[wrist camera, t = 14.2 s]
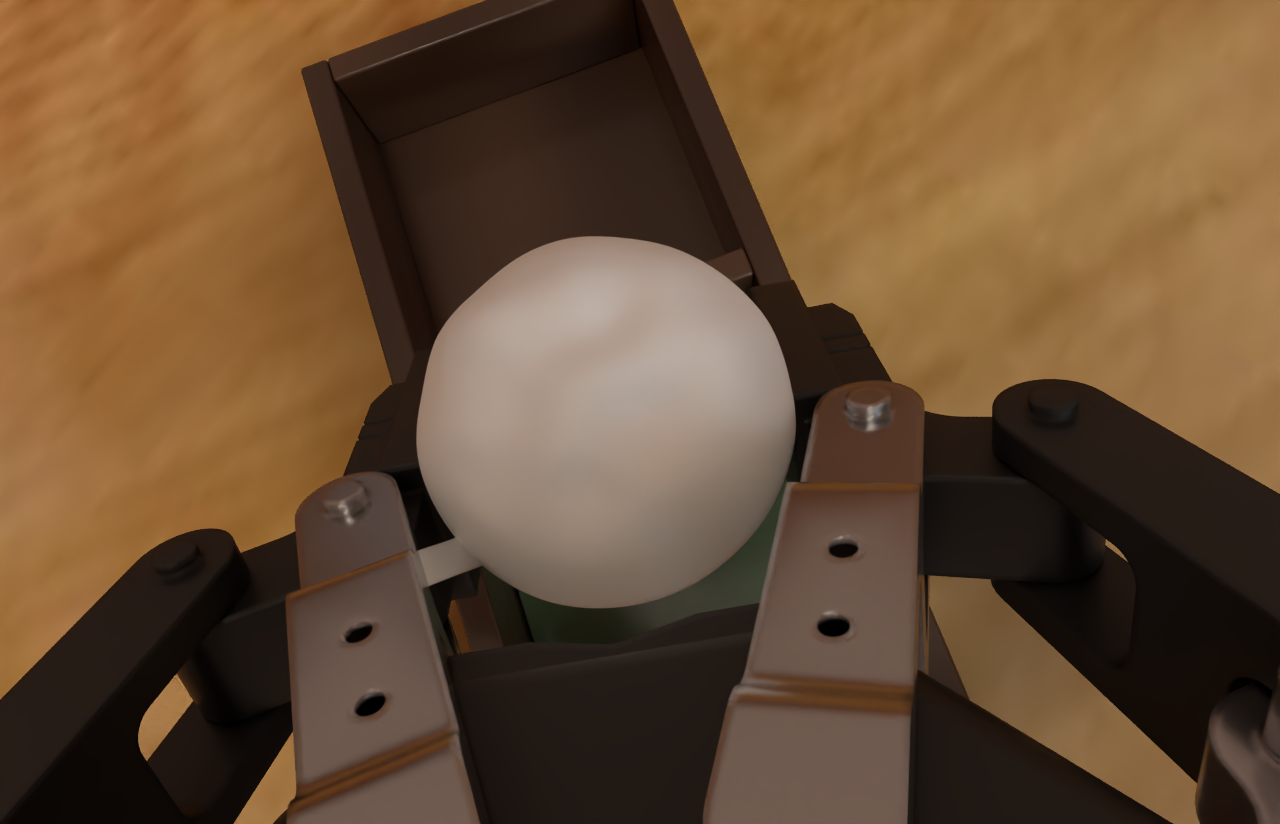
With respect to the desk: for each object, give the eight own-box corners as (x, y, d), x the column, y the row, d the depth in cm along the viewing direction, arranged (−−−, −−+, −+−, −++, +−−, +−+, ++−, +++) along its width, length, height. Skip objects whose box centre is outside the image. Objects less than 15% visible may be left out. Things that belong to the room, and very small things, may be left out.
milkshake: (482, 544, 19) (209, 439, 10) (662, 358, 20) (571, 83, 10) (640, 708, 18) (507, 769, 9) (828, 505, 19) (900, 349, 9)
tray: (659, 34, 23) (647, -62, 20) (1065, 1013, 17) (1138, 1096, 14) (358, 145, 23) (299, 67, 20) (665, 1157, 17) (650, 1271, 14)
